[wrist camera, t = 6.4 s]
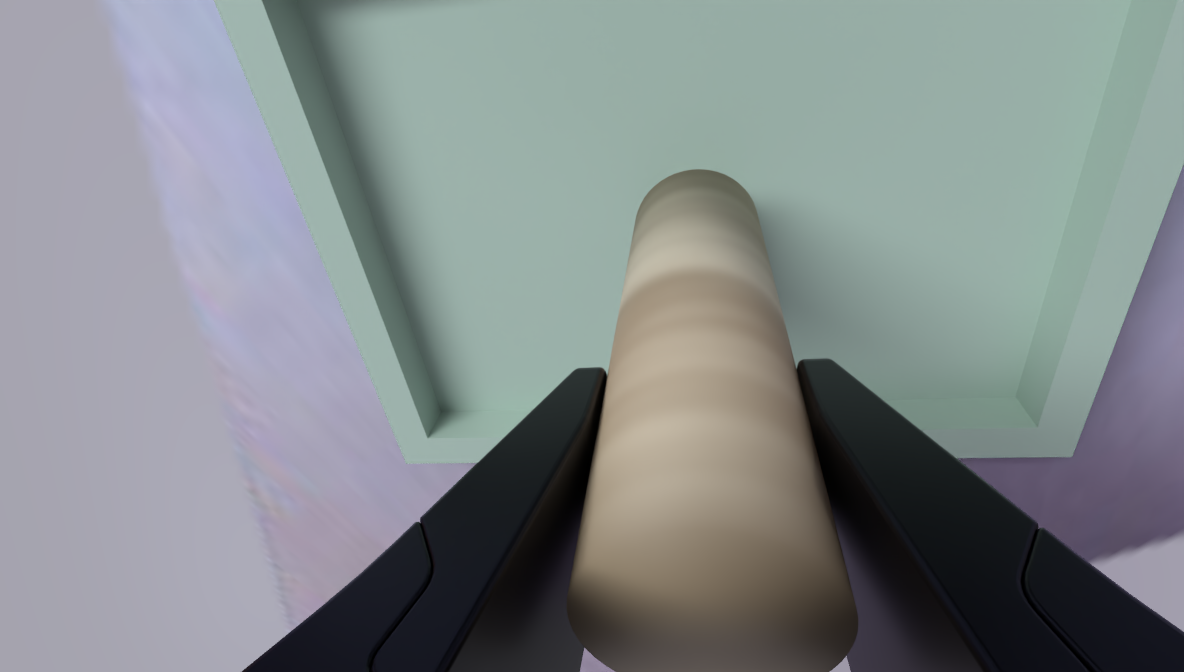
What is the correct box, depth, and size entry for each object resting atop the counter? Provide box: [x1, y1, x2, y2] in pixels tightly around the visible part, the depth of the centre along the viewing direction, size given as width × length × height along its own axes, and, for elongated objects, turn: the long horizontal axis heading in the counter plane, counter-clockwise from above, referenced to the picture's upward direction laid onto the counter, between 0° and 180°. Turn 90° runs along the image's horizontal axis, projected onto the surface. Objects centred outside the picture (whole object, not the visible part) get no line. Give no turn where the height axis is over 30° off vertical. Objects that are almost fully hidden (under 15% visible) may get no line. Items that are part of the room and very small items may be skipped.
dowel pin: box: [566, 169, 858, 672], centre depth 9 cm, size 3×3×9 cm
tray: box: [214, 0, 1184, 464], centre depth 14 cm, size 14×18×2 cm
